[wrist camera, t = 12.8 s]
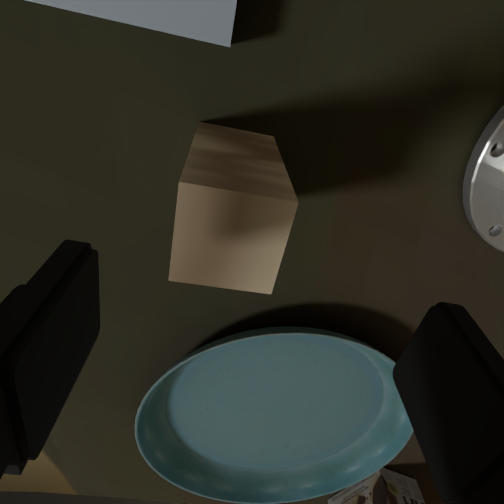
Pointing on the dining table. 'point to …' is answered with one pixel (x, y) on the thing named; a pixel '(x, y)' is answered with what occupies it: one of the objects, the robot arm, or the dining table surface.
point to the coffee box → (381, 490)
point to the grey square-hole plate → (163, 15)
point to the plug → (232, 211)
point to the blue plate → (273, 416)
